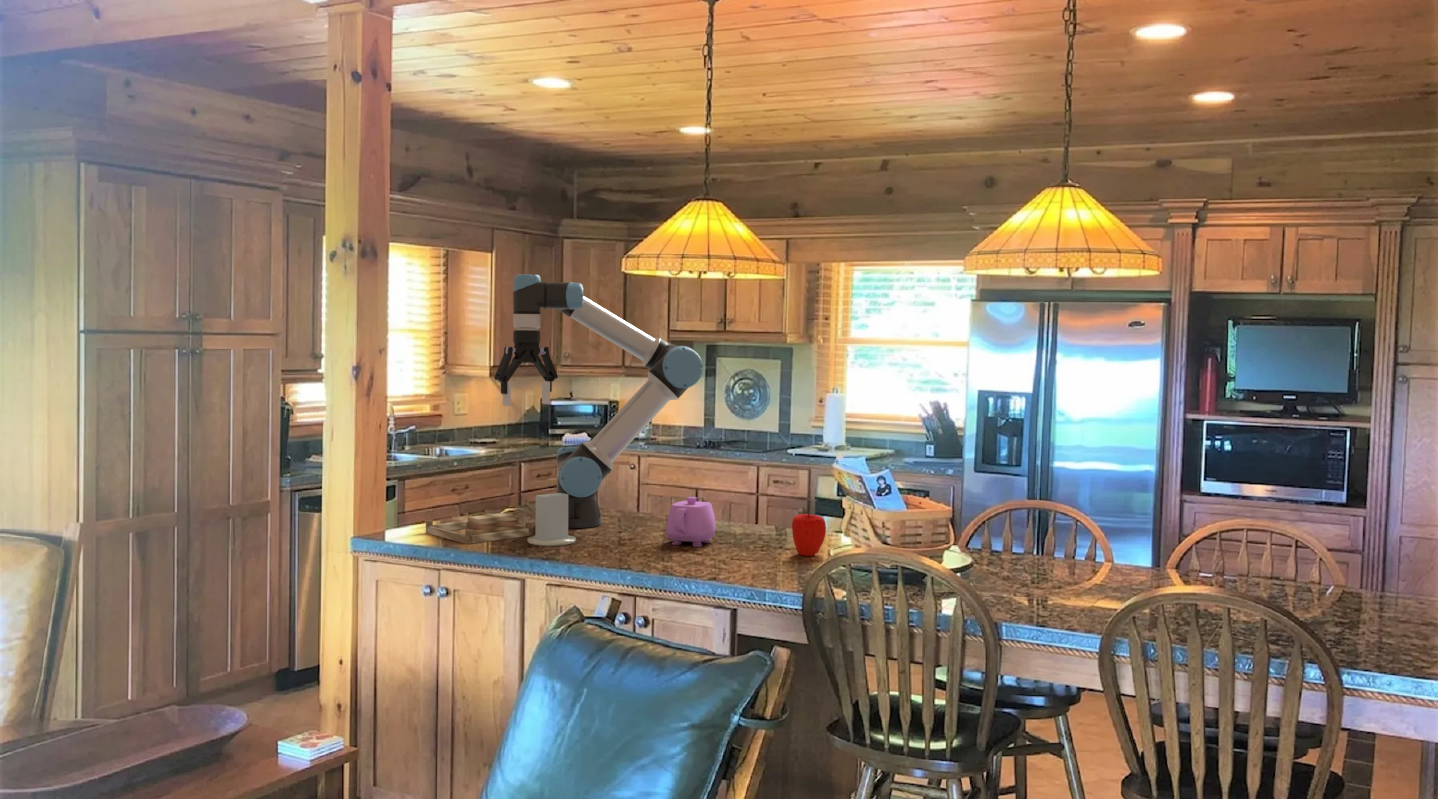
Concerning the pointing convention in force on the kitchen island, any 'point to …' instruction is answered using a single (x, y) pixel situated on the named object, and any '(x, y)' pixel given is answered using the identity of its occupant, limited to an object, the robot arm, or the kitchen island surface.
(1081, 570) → the kitchen island surface
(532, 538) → the plate
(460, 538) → the rack
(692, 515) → the teapot
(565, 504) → the gray rectangular block
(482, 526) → the offcut stack
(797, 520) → the apple
